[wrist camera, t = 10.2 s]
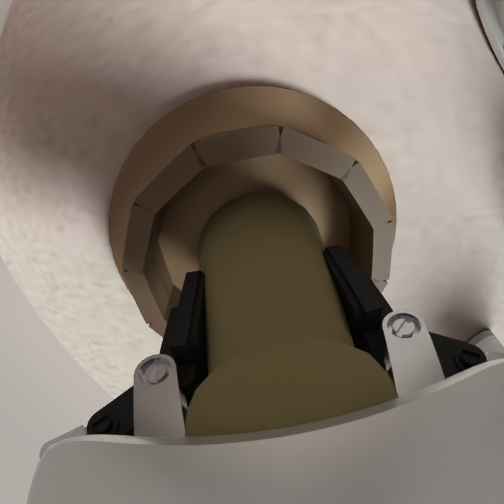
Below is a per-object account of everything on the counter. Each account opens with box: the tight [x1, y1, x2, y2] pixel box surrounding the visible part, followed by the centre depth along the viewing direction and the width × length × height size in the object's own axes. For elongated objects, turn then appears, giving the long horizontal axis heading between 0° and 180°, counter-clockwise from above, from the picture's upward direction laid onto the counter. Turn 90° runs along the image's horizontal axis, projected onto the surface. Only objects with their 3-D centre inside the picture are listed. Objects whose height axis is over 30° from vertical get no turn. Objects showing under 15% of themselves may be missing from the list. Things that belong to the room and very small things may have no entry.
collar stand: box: [109, 86, 396, 337], centre depth 14 cm, size 16×16×4 cm
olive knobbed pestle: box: [185, 192, 399, 437], centre depth 9 cm, size 6×6×11 cm
